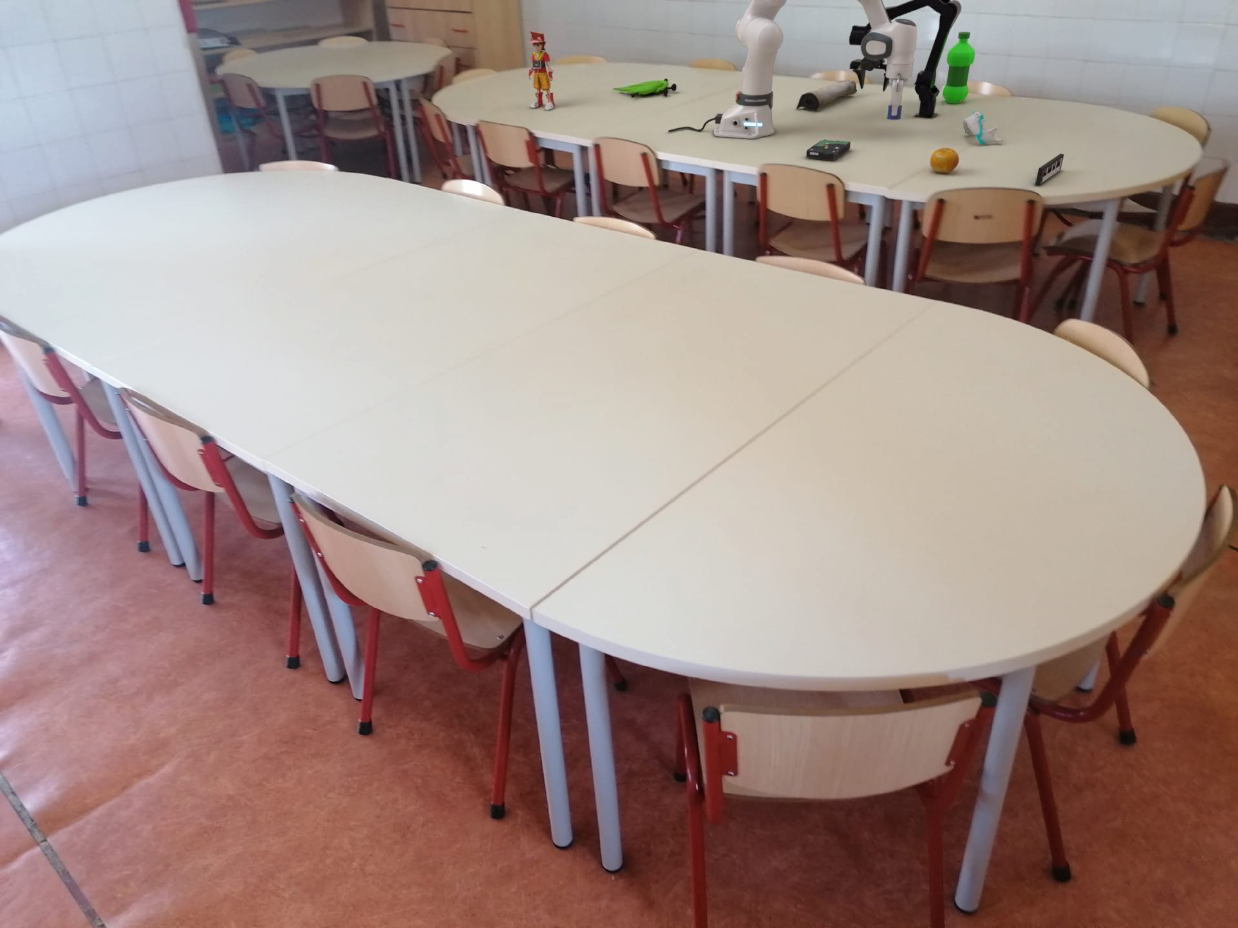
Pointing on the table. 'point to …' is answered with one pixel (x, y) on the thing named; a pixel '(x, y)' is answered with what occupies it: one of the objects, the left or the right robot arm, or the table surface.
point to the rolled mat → (826, 94)
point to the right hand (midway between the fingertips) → (872, 90)
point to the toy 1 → (541, 71)
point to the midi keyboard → (1049, 169)
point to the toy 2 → (648, 88)
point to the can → (889, 115)
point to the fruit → (944, 160)
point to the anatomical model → (979, 129)
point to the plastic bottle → (958, 69)
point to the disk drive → (828, 149)
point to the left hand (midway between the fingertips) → (894, 113)
